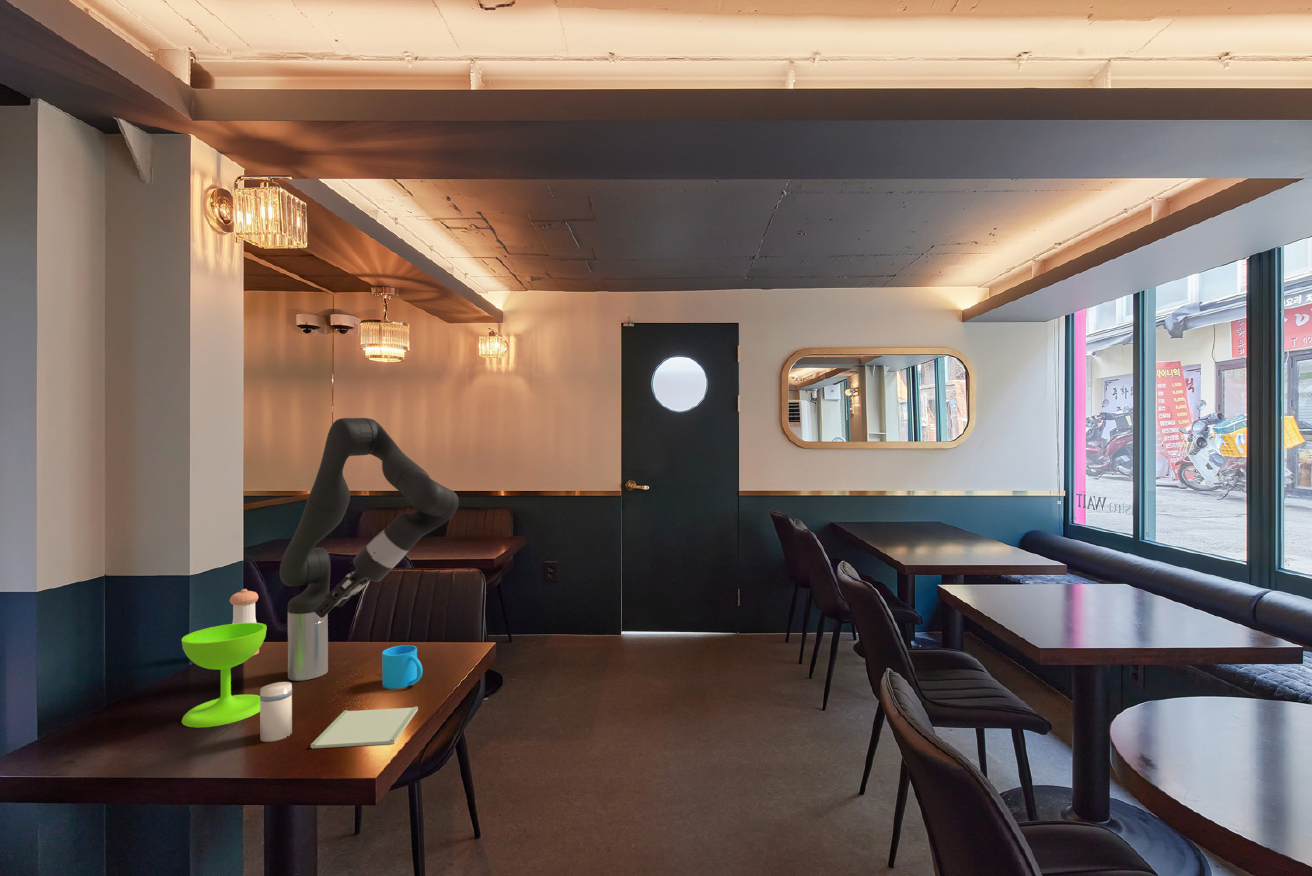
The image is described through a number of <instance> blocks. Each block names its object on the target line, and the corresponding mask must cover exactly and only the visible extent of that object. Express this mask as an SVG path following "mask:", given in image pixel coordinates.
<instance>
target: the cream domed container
mask: <svg viewBox="0 0 1312 876" xmlns="http://www.w3.org/2000/svg"><path fill="white" fill-rule="evenodd" d="M259 691H260V692H259V696H260V712H259V717H260V719H259V720H260V721H259V726H260V729H259V733H260V736H259V737H260V741H261V742H265V743H270V742H271V743H272V742H277V741H280V740H283V739H286V738H288V737H290V736H291V735H292V733H293V684H292V682H291V681H290V682H289V681H278V682H273V683H270V684H267V685H264V686H262V687H261V688H260V690H259ZM290 734H291V735H290ZM287 736H288V737H287Z"/></svg>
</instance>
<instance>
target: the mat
mask: <svg viewBox="0 0 1312 876" xmlns="http://www.w3.org/2000/svg"><path fill="white" fill-rule="evenodd" d="M418 710H419V707H418V706H414V707H400V708H398V707H397V708H383V709H365V710H363V709H362V710H347V709H346V710H345V709H344V710H343V711H342V713H340V714H339V715H338V717H336V718H335V719H334V720H333V721H332V722H331V724H329V725H328V726H327V727H326V728H325V729H324V731H323V732H322V733H320V734H319V735H318V737H316V738H315V740H313V742H312V743H311V744H310V749H311V748H312V749H326V748H341V747H342V748H344V747H359V746H361V747H362V746H375V745H376V746H377V745H394V744H396V741H398V738H400V736H401V735H402V733H403V732H404V730H405V729H406V727H407V726H408V725H409V723H410V722H411V720H412V719H413V718H414V716H415V715H416V713H417V712H418Z"/></svg>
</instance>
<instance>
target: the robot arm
mask: <svg viewBox="0 0 1312 876" xmlns="http://www.w3.org/2000/svg"><path fill="white" fill-rule="evenodd" d="M368 455H371V456H372V457H373V456H374V457H375V458H377V459H379V460H380V461H381V469H382V470H381V471H382V474H383V476H384V478H385V479H386V482H388V483H389V484H390V485H391V486H392V487H394V489H395V490H397V491H398V492H400V493H401V494H402V495H403V496H404V498H405V499H406V500H407V502H408V503H409V504H410V505H411V506H412V507H414V508H415V510H417V511H415V512H402V513H400V514H399V515H397V516H396V517H395V518H394V519H393V520H392V521H391V522H390V523H389V524H388V525H387V526H386V527H385V528H384V529H383V530H382V531H380V532H379V533H378V534H377V535H375V536H374V537H373V538H372V539H371V541H369V542H368V544H367V545H365V546H364V548H362V549H361V550H360V551H359V552H358V553H357V554H356V555H355V556H354V558H353V559H352V564H353V566H354V568H355V570H353V571H351V572H349V573H347V574H346V575H345V576H344V577H343V578H342V580H341V581H339V583H337V585H335V586H334V587H333V589H332V590H331V591H330V586H331V584H330V583H331V582H330V581H331V571H332V570H331V557H330V554H329V552H328V551H327V550H326V549H325V548H324V547H315V546H316V545H317V544H318V543H319V542H320V541H322V540H324V539H325V537H327V536H328V535H329V534H330V533H331V532H333V530H335V528H337V527H338V526H339V525H340V524H341V522H342V520H343V518H344V516H345V515H346V511H347V509H348V507H349V504H350V502H351V501H350V500H351V492H350V489H349V487H348V484H347V482H346V479H345V478H344V477H345V476H344V475H343V474H344V467H345V464H346V462H347V459H348V458H350V457H355V456H357V457H358V456H368ZM317 471H318V472H317V474H316V477H315V479H314V482H313V485H312V488H311V489H310V493H309V494H308V497H307V500H306V503H305V505H304V509H303V511H302V515H301V517H300V521H299V523H298V526H297V528H296V530H295V532H294V534H293V537H292V538H291V540H290V542H289V544H288V546H287V548H286V549H285V552H284V554H283V556H282V559H281V562H280V565H279V578H280V581H281V583H283V585H285V586H287V587H298V586H299V587H300V586H304V585H307V587H306V588H305V589H304V590H303V591H302V592H300V594H298V595H296V596H295V597H293V598H291V599H290V600H289V601H288V603H287V679H288V680H291V681H307V680H311V679H316V678H319V677H322V676H325V675H326V674H327V673H328V672H329V636H328V635H329V632H328V631H329V629H328V626H329V623H328V621H329V619H328V617H329V615H328V614H329V612H331V610H333V609H334V608H335V607H337V608H341V607H342V606H344V604H346V602H348V601H349V600H350V599H351V597H353V596H354V595H357V593H359V592H360V591H362V590H363V589H364V587H365V586H367V585H368V584H369V582H370V581H372V582H376V583H377V582H381V581H382V580H383V579H384V578H385V577H387V575H388V574H389V573H390V572H391V571H392V570H393V569H394V568H395V567H396V566H397V565H398V564H399V563H400V562H401V561H402V560H403V558H404V557H405V556H406V555H407V553H409V551H410V550H411V549H412V548H413V547H414V546H415V545H416V544H417V543H418V542H419V541H420V540H421V539H422V538H423V537H424V536H425V535H427V534H430V533H431V532H432V531H434V530H436V529H437V528H439V527H440V526H442V525H443V524H445V523H447V521H448V520H450V519H451V518H452V517H453V516H454V515H455V513H456V512H457V509H458V507H459V505H460V504H459V502H460V500H459V496H458V494H457V493H456V492H455V491H453V490H451V489H450V488H448V487H446V486H444V485H442V484H440V483H439V482H437V481H435V480H434V479H432V478H431V477H430V475H429V474H428V473H427V471H426V470H425V469H423V468H422V467H421V466H420V465H418V464H417V463H416V462H415V461H413V460H412V459H411V458H409V456H407V455H406V454H405V453H404V452H403V451H402V450H401V448H400V447H399V446H398V445H397V443H396V442H395V441H394V439H393V438H392V437H391V436H390V435H389V434H388V433H387V431H386V429H385V428H384V427H382V425H381V424H380V423H379V422H378V421H376V420H375V419H373V418H368V417H342V418H338V419H336V420H335V421H333V422H332V425H331V426H330V428H329V431H328V433H327V437H326V441H325V445H324V449H323V453H322V457H321V461H320V465H319V468H318V470H317ZM336 594H338V595H337V596H336V597H335V595H336Z"/></svg>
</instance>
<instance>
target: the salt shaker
mask: <svg viewBox="0 0 1312 876" xmlns="http://www.w3.org/2000/svg"><path fill="white" fill-rule="evenodd" d="M258 600H259V595H258V593H257V591H252V590H248V589H247V588H243V589H241V591H238V592H236V593H234V594H232V595H231V596H230V598H229V603H230V604H231V605H232V606H233V607H232V623H231V624H236V623H258V622H257V619H256V602H258ZM259 653H260V648H259V649H258V650H257V652H256V653H255V654H254V655H253V656H256V655H258V654H259ZM253 656H252V657H253Z"/></svg>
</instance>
